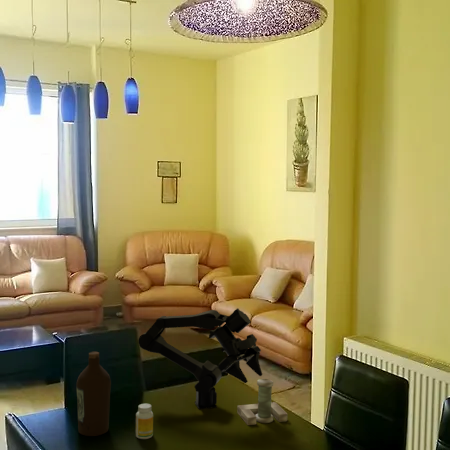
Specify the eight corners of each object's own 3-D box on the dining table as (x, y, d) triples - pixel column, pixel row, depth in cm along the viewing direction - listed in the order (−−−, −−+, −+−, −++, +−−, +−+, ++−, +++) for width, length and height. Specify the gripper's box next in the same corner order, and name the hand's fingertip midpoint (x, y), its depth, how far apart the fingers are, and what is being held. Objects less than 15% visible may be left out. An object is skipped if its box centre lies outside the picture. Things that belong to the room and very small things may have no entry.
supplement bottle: (132, 435, 187) (132, 405, 186) (147, 430, 190) (147, 401, 189) (141, 441, 182) (141, 410, 182) (156, 436, 186) (156, 406, 185)
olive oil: (106, 421, 196) (107, 347, 195) (113, 434, 187) (114, 355, 185) (73, 426, 192) (74, 349, 190) (79, 439, 183) (79, 359, 181)
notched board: (247, 425, 196) (247, 417, 196) (237, 412, 206) (237, 405, 206) (287, 421, 200) (287, 413, 200) (275, 408, 211) (275, 402, 210)
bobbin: (258, 423, 197) (259, 385, 196) (252, 416, 203) (253, 379, 202) (275, 422, 199) (276, 383, 198) (269, 415, 205) (270, 378, 204)
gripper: (226, 333, 197) (253, 372, 191) (257, 322, 212) (283, 359, 206) (206, 352, 202) (232, 391, 196) (238, 340, 217) (263, 377, 211)
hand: (254, 378), depth 202 cm, fingers open, 9 cm apart
